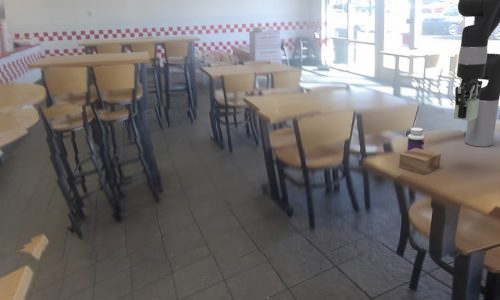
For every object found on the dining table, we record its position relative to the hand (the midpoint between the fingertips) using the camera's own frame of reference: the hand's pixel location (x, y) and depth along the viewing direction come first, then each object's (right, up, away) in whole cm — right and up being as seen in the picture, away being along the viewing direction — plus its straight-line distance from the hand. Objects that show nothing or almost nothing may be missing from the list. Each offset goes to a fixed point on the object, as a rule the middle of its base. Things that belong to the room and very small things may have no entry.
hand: (465, 115), depth 128 cm
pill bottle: (-9, -13, +18) cm, 24 cm away
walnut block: (-12, -17, +7) cm, 22 cm away
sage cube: (0, -1, 0) cm, 1 cm away
